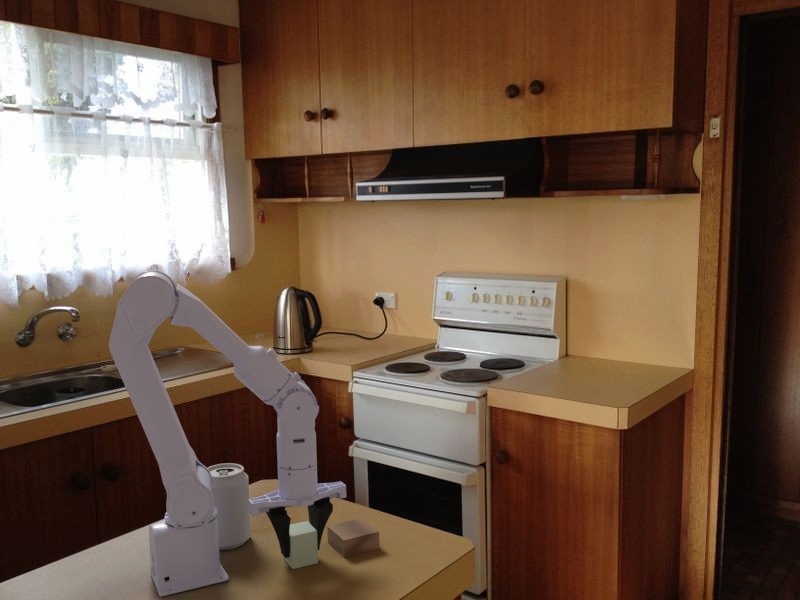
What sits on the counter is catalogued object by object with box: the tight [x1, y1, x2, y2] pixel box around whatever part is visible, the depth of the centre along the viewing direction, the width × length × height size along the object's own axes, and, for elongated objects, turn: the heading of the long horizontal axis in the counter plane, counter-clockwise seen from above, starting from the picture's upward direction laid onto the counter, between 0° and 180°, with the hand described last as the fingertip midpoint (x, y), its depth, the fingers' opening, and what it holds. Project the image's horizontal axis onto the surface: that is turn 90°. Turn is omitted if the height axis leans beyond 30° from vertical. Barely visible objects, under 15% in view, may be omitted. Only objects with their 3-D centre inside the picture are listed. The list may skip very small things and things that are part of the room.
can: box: [207, 462, 252, 551], centre depth 118 cm, size 8×8×12 cm
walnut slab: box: [327, 517, 380, 559], centre depth 116 cm, size 6×6×3 cm
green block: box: [282, 520, 319, 570], centre depth 111 cm, size 4×4×5 cm
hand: (300, 551), depth 111 cm, fingers closed on green block, 4 cm apart
